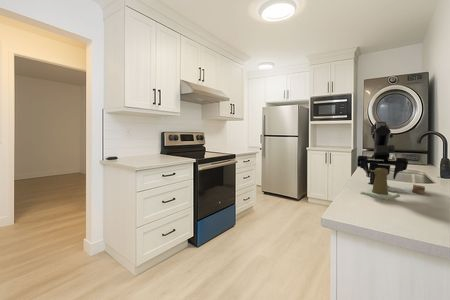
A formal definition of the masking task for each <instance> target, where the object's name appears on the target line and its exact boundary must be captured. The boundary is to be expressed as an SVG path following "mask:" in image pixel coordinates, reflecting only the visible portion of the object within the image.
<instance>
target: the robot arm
mask: <svg viewBox="0 0 450 300" xmlns="http://www.w3.org/2000/svg"><path fill="white" fill-rule="evenodd" d="M370 135H371V140H373V154H372V156H371V158H368V156H367V155H358V156H357V159H356V161H357V162H356V163H357V164H356V166H357V168H360V169H362V170H363V171H364V172H365V174H366V176H367V177H368V178H369V182H368V183H367V184H368V185H372V186H373V184H374V179H375V174H374V170H375V169H376V168H385V169H387V170H388V175H390V173H391V172H390V170H391V166H393V167H394V171H393V178H392V179H393V180H396V177H397V176H398V174H399V173H400V172H403V171H406V170H407V168H408V165H409V159H408V158H407V157H396V158H395V160H389V159H390V157H391V156H390V154H394V153H395V145H394V144H392V145H391V144H389V143H390V140H391V139H392V138H393V137H394V134H393V133H392V132H391V129H390V127H389V125H387V122H386V121H375V123H374V124H373V125H372V126H370Z"/></svg>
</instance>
